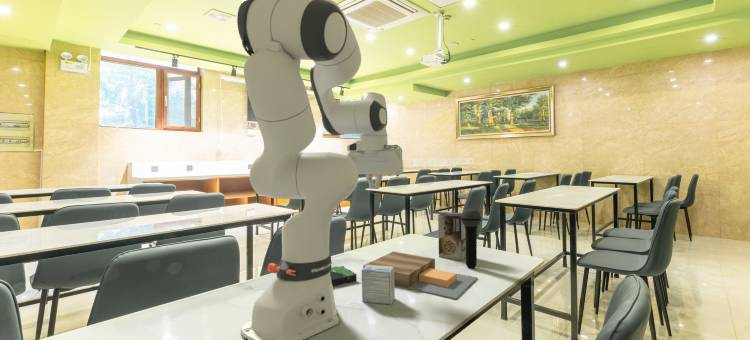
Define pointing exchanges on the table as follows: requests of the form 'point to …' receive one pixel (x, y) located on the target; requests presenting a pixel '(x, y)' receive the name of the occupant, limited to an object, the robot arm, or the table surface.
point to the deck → (405, 267)
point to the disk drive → (342, 276)
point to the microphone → (471, 235)
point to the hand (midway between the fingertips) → (374, 188)
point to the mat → (448, 292)
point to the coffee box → (451, 236)
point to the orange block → (438, 277)
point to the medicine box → (378, 284)
